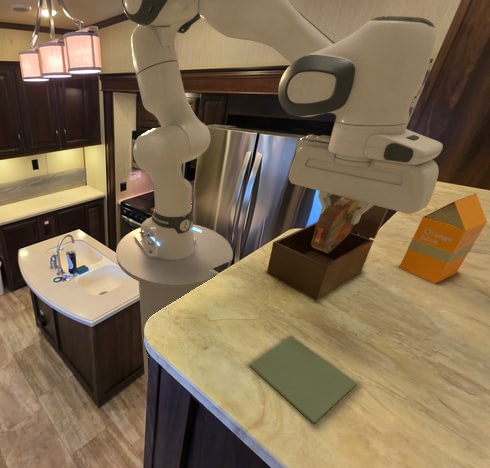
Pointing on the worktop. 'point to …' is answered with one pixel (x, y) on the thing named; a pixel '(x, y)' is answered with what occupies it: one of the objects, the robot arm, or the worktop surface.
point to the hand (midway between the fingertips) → (338, 218)
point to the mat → (303, 378)
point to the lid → (367, 219)
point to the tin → (333, 224)
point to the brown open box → (317, 262)
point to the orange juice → (444, 239)
